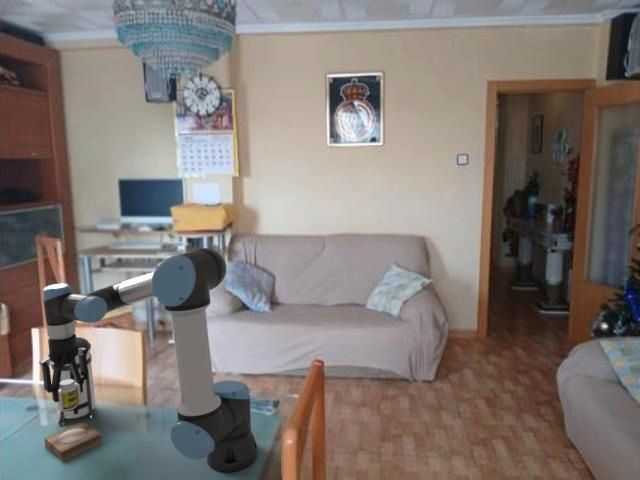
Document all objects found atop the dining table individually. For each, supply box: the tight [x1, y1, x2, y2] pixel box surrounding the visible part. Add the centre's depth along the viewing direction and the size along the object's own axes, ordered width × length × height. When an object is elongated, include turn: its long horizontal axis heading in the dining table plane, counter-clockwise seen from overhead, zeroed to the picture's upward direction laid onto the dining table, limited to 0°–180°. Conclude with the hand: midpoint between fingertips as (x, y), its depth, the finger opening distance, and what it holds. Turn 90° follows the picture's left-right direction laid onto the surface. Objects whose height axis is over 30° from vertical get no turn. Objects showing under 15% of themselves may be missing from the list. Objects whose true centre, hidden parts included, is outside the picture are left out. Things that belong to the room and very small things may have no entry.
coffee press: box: [48, 336, 96, 426], centre depth 168 cm, size 17×16×30 cm
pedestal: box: [43, 421, 103, 462], centre depth 154 cm, size 12×12×3 cm
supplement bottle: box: [59, 379, 78, 411], centre depth 151 cm, size 5×5×8 cm
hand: (69, 406), depth 152 cm, fingers closed on supplement bottle, 5 cm apart
